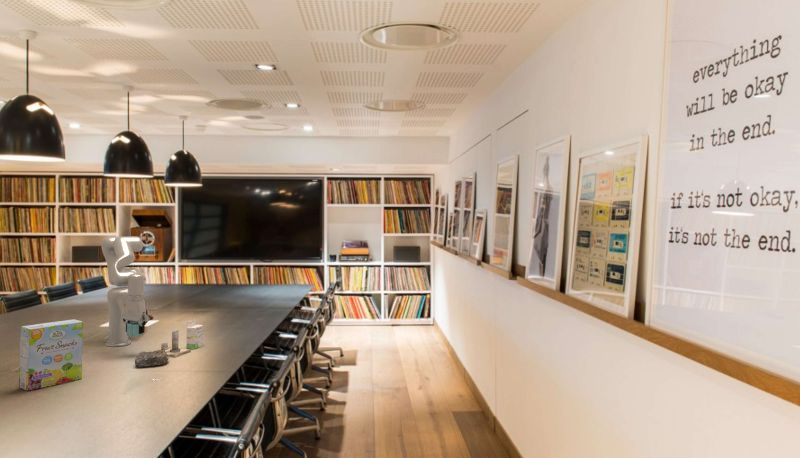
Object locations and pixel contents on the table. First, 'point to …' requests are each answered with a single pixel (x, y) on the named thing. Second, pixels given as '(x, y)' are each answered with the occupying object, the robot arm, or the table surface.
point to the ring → (133, 329)
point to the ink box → (194, 335)
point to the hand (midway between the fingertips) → (135, 332)
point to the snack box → (50, 354)
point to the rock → (151, 358)
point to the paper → (156, 379)
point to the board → (182, 351)
